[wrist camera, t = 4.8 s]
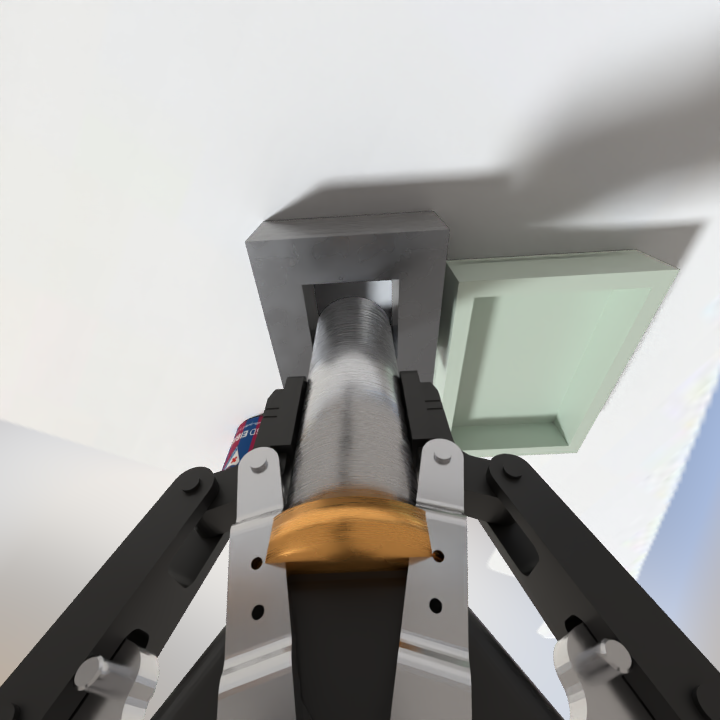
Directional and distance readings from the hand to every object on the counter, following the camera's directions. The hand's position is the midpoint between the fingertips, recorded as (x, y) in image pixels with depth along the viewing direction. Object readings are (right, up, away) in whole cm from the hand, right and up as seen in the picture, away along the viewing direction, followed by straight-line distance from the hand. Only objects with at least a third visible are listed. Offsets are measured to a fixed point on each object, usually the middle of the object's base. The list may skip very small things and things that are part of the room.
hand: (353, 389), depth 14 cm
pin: (0, +3, +4) cm, 5 cm away
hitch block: (0, +6, +8) cm, 10 cm away
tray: (+12, +2, +11) cm, 17 cm away
